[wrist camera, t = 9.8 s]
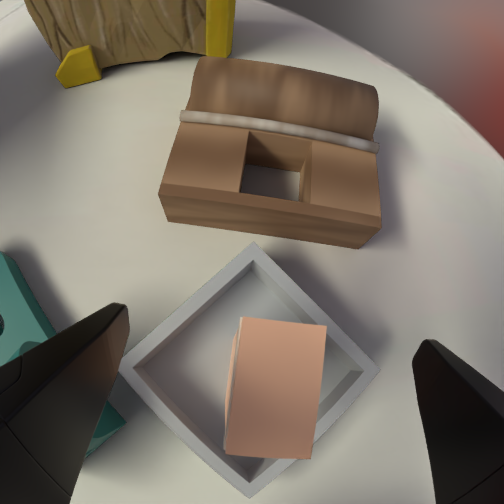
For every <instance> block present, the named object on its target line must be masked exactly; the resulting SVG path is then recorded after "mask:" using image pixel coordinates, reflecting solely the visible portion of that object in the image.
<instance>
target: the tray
mask: <svg viewBox="0 0 504 504" xmlns="http://www.w3.org/2000/svg"><path fill="white" fill-rule="evenodd" d="M243 316H245V317H252V318H260V319H268V320H276V321H285V322H294V323H303V324H313V325H323V326H327V330H326V341H325V352H324V362H323V372H322V381H321V390H320V398H319V406H318V413H317V420H316V427H315V434H314V441H313V443H314V442H315V441H316V440H318V439H319V438H320V437H321V436H322V435H323V434H324V433H325V432H326V431H327V430H328V428H329V427H330V426H331V425H332V424H333V423H334V422H335V421H336V420H337V419H338V418H339V417H340V416H341V415H342V414H343V413H344V412H345V411H346V409H347V408H348V407H349V406H350V405H351V404H352V403H353V402H354V401H355V399H356V398H357V397H358V396H359V395H360V394H361V393H362V391H363V390H364V389H365V388H366V387H367V386H368V384H369V383H370V382H371V381H372V380H373V378H374V377H375V376H376V375H377V373H378V372H379V371H380V370H381V369H380V368H379V367H378V366H377V365H376V364H375V363H374V362H373V361H372V360H371V359H370V358H369V357H368V356H367V355H366V354H365V353H364V352H363V351H362V350H361V349H360V348H359V347H358V346H357V345H356V344H355V343H354V342H353V341H352V340H351V339H350V338H349V336H348V335H347V334H346V333H345V332H344V331H343V330H342V329H341V328H340V327H339V326H338V325H337V324H336V323H335V322H334V321H333V320H332V319H331V318H330V317H329V316H328V315H327V314H326V313H325V312H324V311H323V310H322V309H321V308H320V307H319V306H318V305H317V304H316V303H315V302H314V301H313V300H312V299H311V298H310V297H309V296H308V295H307V294H306V293H305V292H304V291H303V290H302V289H301V288H300V287H299V286H298V285H297V284H296V283H295V282H294V281H293V280H292V279H291V278H290V277H289V276H288V275H287V274H286V273H285V272H284V271H283V270H282V269H281V268H280V267H279V266H278V265H277V264H276V263H275V262H274V261H273V260H272V259H271V258H270V257H269V256H268V255H267V254H266V253H265V252H264V251H263V250H262V249H261V248H260V247H259V246H258V245H257V244H256V243H255V242H254V241H253V242H252V243H251V244H250V245H249V246H248V247H247V248H245V249H244V250H243V251H242V252H241V253H240V254H239V255H237V256H236V257H235V258H234V259H233V260H232V261H231V262H229V263H228V264H227V265H226V266H225V267H224V268H223V269H222V270H220V271H219V272H218V273H217V274H216V275H215V276H214V277H212V278H211V279H210V280H209V281H208V282H207V283H206V284H205V285H203V286H202V287H201V288H200V289H199V290H198V291H197V292H196V293H194V294H193V295H192V296H191V297H190V298H189V299H188V300H186V301H185V302H184V303H183V304H182V305H181V306H180V307H179V308H177V309H176V310H175V311H174V312H173V313H172V314H171V315H170V316H168V317H167V318H166V319H165V320H164V321H163V322H162V323H161V324H159V325H158V326H157V327H156V328H155V329H154V330H153V331H152V332H150V333H149V334H148V335H147V336H146V337H145V338H144V339H143V340H142V341H140V342H139V343H138V344H137V345H136V346H135V347H134V348H133V349H131V350H130V351H129V352H128V353H127V354H126V355H125V356H124V357H123V358H122V359H121V362H120V366H119V369H118V371H119V372H120V374H121V375H122V376H123V377H124V379H125V380H126V381H127V382H128V383H129V385H130V386H131V387H132V388H133V389H134V390H135V392H136V393H137V394H138V395H139V396H140V397H141V398H142V400H143V401H144V402H145V403H146V404H147V405H148V406H149V407H150V408H151V410H152V411H153V412H154V413H155V414H156V415H157V416H158V417H159V418H160V419H161V420H162V421H163V422H164V423H165V424H166V425H167V426H168V427H169V428H170V429H171V430H172V432H173V433H174V434H175V435H176V436H178V437H179V438H180V439H181V440H182V441H183V442H184V443H185V444H186V445H187V446H188V447H189V448H190V449H191V450H192V451H193V452H194V453H195V454H196V455H197V456H199V457H200V458H201V459H202V460H203V461H204V462H205V463H206V464H207V465H209V466H210V467H211V468H212V469H213V470H214V471H215V472H217V473H218V474H219V475H220V476H221V477H223V478H224V479H225V480H226V481H227V482H229V483H230V484H231V485H232V486H233V487H235V488H236V489H237V490H239V491H240V492H241V493H242V494H244V495H245V496H246V497H248V498H249V499H250V498H251V497H252V496H254V495H255V494H256V493H258V492H259V491H260V490H261V489H263V488H264V487H265V486H266V485H267V484H269V483H270V482H271V481H272V480H274V479H275V478H276V477H277V476H278V475H279V474H281V473H282V472H283V471H284V470H285V469H286V468H287V467H289V466H290V465H291V464H292V463H293V462H294V461H295V460H296V459H280V458H261V457H248V456H238V455H228V454H225V450H224V436H225V399H226V391H227V383H228V375H229V368H230V360H231V352H232V345H233V339H234V336H235V334H236V332H237V329H238V327H239V320H240V317H243Z"/></svg>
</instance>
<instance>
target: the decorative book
mask: <svg viewBox="0 0 504 504" xmlns="http://www.w3.org/2000/svg"><path fill="white" fill-rule="evenodd" d="M24 1H25V4H26V7H27V10H28V12H29V14H30V16H31V17H32V19H33V21H34V22H35V24H36V26H37V27H38V29H39V31H40V32H41V34H42V35H43V37H44V39H45V40H46V42H47V44H48V45H49V46H50V48H51V49H52V51H53V52H54V53H55V55H56V56H57V57H58V59H59V60H60V62H61V64H60V66H59V68H58V70H57V72H56V75H55V76H56V77H57V79H58V80H59V81H60V82H61V84H62V85H63V86H64V87H65V88H69V87H73V86H77V85H81V84H85V83H89V82H92V81H96V80H100V79H101V78H102V69H101V68H105V67H109V66H113V65H117V64H123V63H130V62H139V61H148V60H159V59H160V58H162V57H163V56H165V55H166V54H168V53H170V52H177V51H185V52H192V53H198V54H204V55H206V56H211V57H223V58H227V57H228V55H229V54H230V53H231V48H232V37H233V26H234V15H235V2H236V0H24Z"/></svg>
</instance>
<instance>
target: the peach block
mask: <svg viewBox="0 0 504 504" xmlns="http://www.w3.org/2000/svg"><path fill="white" fill-rule="evenodd" d="M326 330H327V326H323V325H313V324H303V323H294V322H285V321H276V320H268V319H260V318H252V317H245V316H243V317H240V320H239V327H238V329H237V332H236V334H235V336H234V339H233V345H232V352H231V360H230V368H229V375H228V383H227V391H226V399H225V436H224V450H225V454H228V455H238V456H248V457H261V458H280V459H311V453H312V447H313V441H314V434H315V427H316V420H317V413H318V406H319V398H320V390H321V381H322V372H323V362H324V352H325V341H326Z"/></svg>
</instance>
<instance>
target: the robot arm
mask: <svg viewBox="0 0 504 504" xmlns="http://www.w3.org/2000/svg"><path fill="white" fill-rule="evenodd" d="M129 331H130V326H129V317H128V308H127V306H126V305H125V304H120V303H111V304H109V305H107V306H106V307H104V308H102V309H100V310H98V311H97V312H95V313H93V314H91V315H89V316H88V317H86V318H84V319H82V320H81V321H79V322H77V323H75V324H74V325H72V326H70V327H68V328H67V329H65V330H63V331H61V332H59V333H58V334H56V335H54V336H53V337H51V338H49V339H47V340H46V341H44V342H42V343H40V344H39V345H37V346H35V347H33V348H32V349H30V350H28V351H27V352H25V353H23V355H20V356H18V357H16V358H14V359H13V360H11V361H9V362H7V363H6V364H4V365H2V366H0V504H70V500H71V497H72V494H73V491H74V488H75V485H76V482H77V479H78V476H79V473H80V470H81V467H82V464H83V461H84V458H85V456H86V453H87V450H88V447H89V445H90V442H91V439H92V437H93V434H94V431H95V429H96V426H97V424H98V421H99V418H100V416H101V413H102V411H103V408H104V406H105V403H106V401H107V398H108V396H109V394H110V391H111V389H112V386H113V384H114V381H115V379H116V376H117V373H118V369H119V366H120V362H121V359H122V356H123V352H124V349H125V346H126V342H127V339H128V336H129ZM412 368H413V374H414V380H415V387H416V393H417V400H418V406H419V411H420V415H421V420H422V424H423V429H424V433H425V438H426V443H427V449H428V454H429V460H430V465H431V471H432V478H433V484H434V492H435V499H436V504H504V392H503V391H502V390H501V389H499V388H498V387H497V386H496V385H494V384H493V383H492V382H490V381H489V380H488V379H487V378H485V377H484V376H483V375H481V374H480V373H479V372H478V371H476V370H475V369H474V368H472V367H471V366H470V365H468V364H467V363H466V362H465V361H463V360H462V359H461V358H459V357H458V356H457V355H455V354H454V353H453V352H451V351H450V350H449V349H447V348H446V347H445V346H443V345H442V344H441V343H439V342H438V341H437V340H433V339H426V340H424V341H423V342H422V343H421V345H420V347H419V349H418V350H417V352H416V354H415V355H414V357H413V360H412Z"/></svg>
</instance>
